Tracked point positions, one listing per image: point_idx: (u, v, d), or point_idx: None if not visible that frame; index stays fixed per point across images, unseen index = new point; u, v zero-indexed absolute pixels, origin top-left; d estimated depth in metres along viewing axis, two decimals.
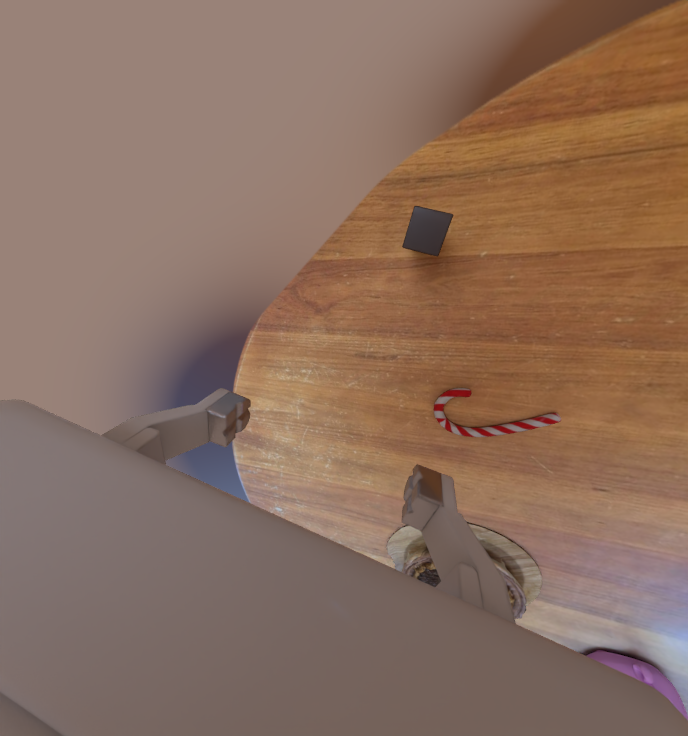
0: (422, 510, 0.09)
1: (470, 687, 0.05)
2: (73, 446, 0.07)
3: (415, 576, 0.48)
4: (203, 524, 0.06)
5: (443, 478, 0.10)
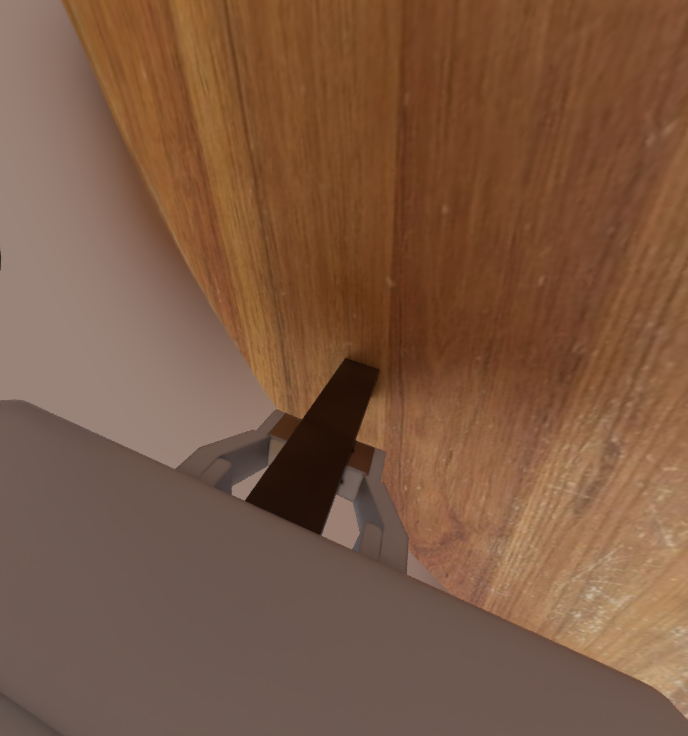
0: (351, 480, 0.10)
1: (470, 687, 0.05)
2: (73, 446, 0.07)
3: None
4: (204, 523, 0.06)
5: (375, 452, 0.10)
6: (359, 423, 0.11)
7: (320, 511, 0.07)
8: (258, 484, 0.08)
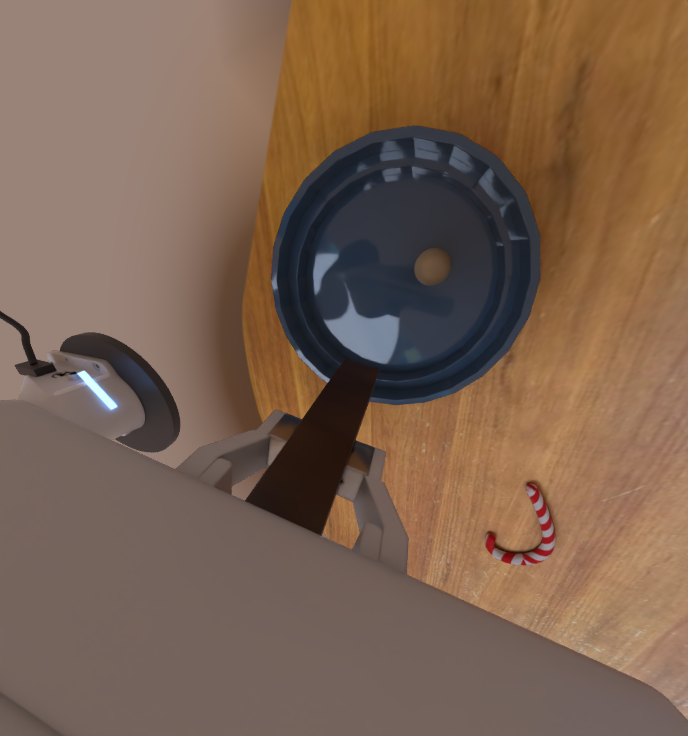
0: (351, 481, 0.10)
1: (470, 687, 0.05)
2: (73, 446, 0.07)
3: None
4: (204, 524, 0.06)
5: (375, 452, 0.10)
6: (359, 423, 0.11)
7: (320, 512, 0.07)
8: (258, 485, 0.08)
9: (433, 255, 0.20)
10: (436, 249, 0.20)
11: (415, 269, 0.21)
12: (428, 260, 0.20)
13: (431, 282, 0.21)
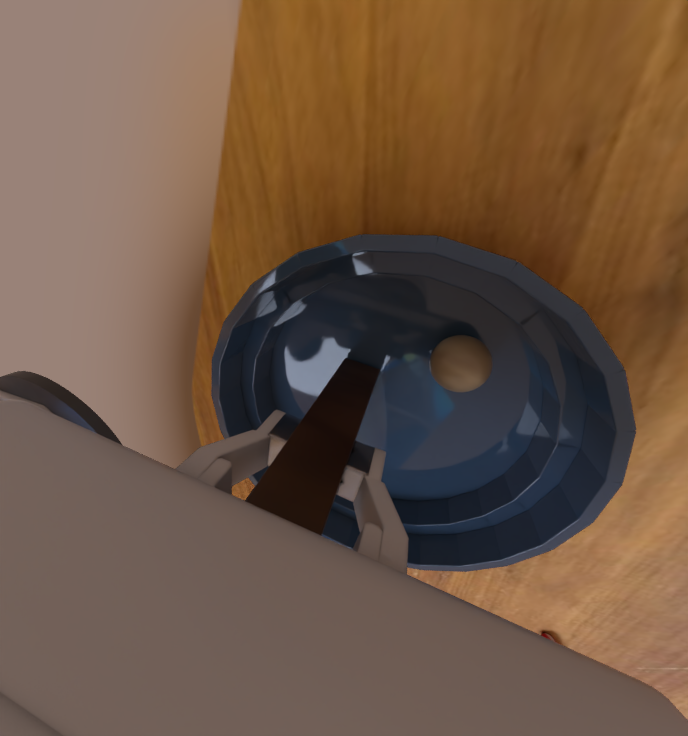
0: (351, 480, 0.10)
1: (470, 687, 0.05)
2: (73, 446, 0.07)
3: None
4: (204, 523, 0.06)
5: (375, 452, 0.10)
6: (359, 423, 0.11)
7: (321, 511, 0.07)
8: (258, 484, 0.08)
9: None
10: None
11: (442, 342, 0.13)
12: None
13: (477, 351, 0.12)
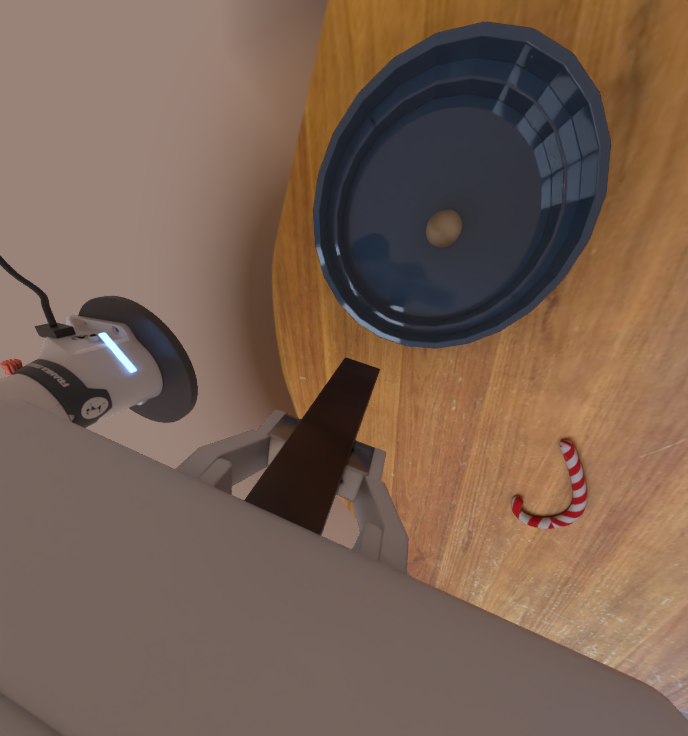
0: (351, 480, 0.10)
1: (470, 687, 0.05)
2: (73, 446, 0.07)
3: None
4: (204, 523, 0.06)
5: (375, 452, 0.10)
6: (359, 422, 0.11)
7: (320, 510, 0.07)
8: (258, 483, 0.08)
9: (431, 244, 0.23)
10: (436, 242, 0.22)
11: (427, 224, 0.23)
12: None
13: None
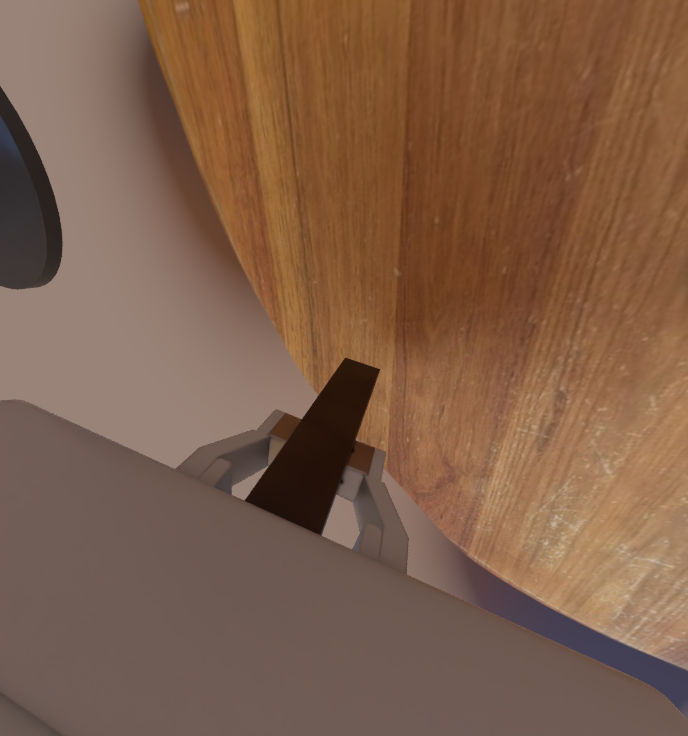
0: (351, 480, 0.10)
1: (470, 687, 0.05)
2: (73, 446, 0.07)
3: None
4: (204, 523, 0.06)
5: (375, 452, 0.10)
6: (359, 423, 0.11)
7: (320, 511, 0.07)
8: (258, 484, 0.08)
9: None
10: None
11: None
12: None
13: None
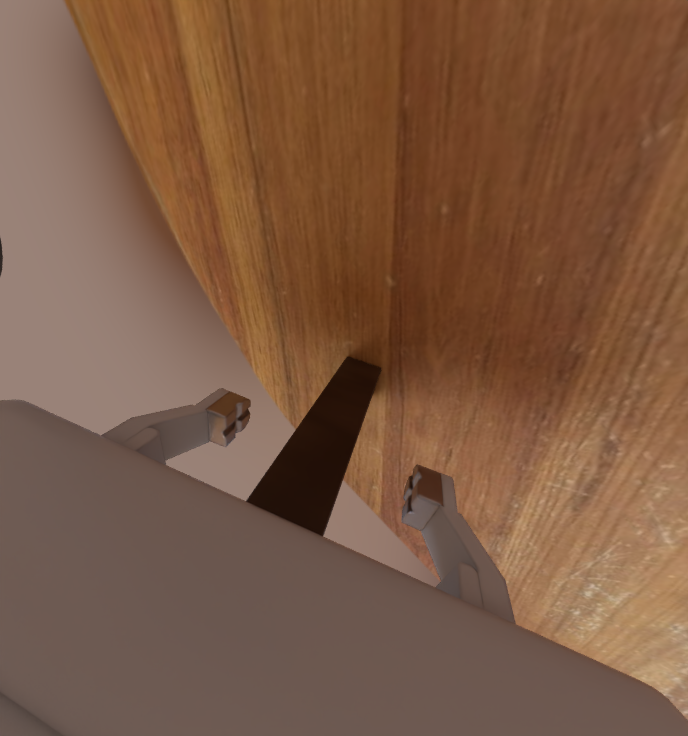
0: (422, 510, 0.09)
1: (470, 687, 0.05)
2: (73, 446, 0.07)
3: None
4: (203, 524, 0.06)
5: (443, 478, 0.10)
6: (362, 420, 0.11)
7: (324, 505, 0.08)
8: (263, 479, 0.08)
9: None
10: None
11: None
12: None
13: None
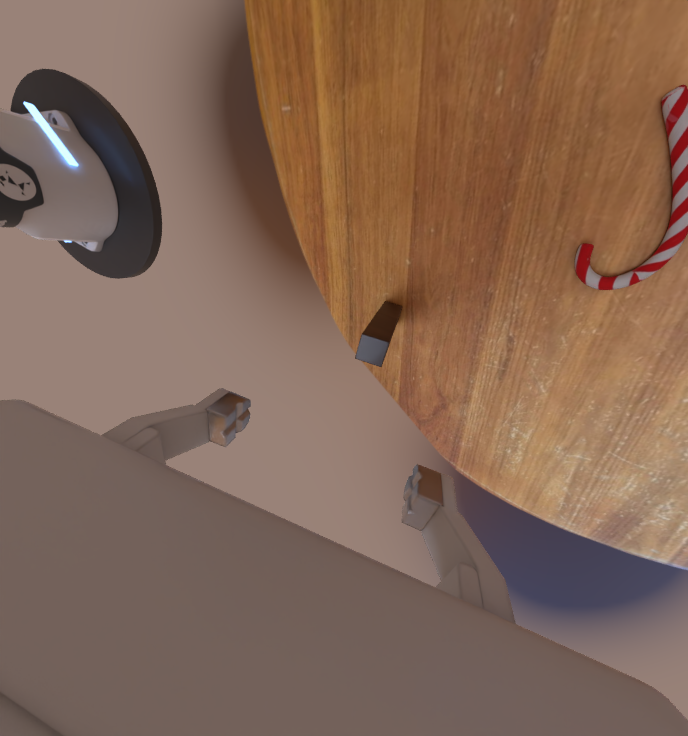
0: (422, 510, 0.09)
1: (470, 687, 0.05)
2: (73, 446, 0.07)
3: None
4: (204, 524, 0.06)
5: (443, 478, 0.10)
6: (398, 317, 0.28)
7: (392, 327, 0.24)
8: (371, 321, 0.24)
9: None
10: None
11: None
12: None
13: None
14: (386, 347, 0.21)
